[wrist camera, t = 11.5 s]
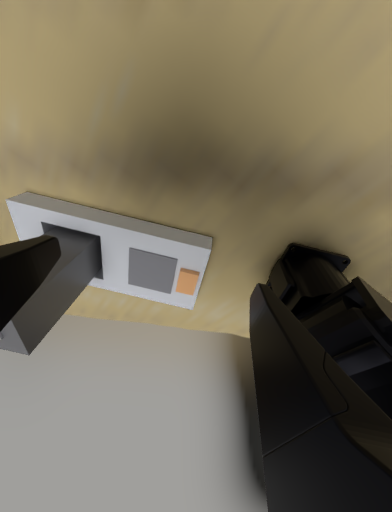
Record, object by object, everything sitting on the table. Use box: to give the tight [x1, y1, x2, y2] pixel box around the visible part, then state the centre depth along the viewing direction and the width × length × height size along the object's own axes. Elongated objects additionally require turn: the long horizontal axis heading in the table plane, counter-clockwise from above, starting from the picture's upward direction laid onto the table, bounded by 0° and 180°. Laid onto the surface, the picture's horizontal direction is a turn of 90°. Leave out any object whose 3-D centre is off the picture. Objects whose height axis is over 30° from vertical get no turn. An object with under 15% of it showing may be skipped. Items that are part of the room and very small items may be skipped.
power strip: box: [6, 192, 212, 310], centre depth 22 cm, size 20×9×3 cm, turn 78°
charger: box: [0, 226, 103, 355], centre depth 18 cm, size 4×4×12 cm
